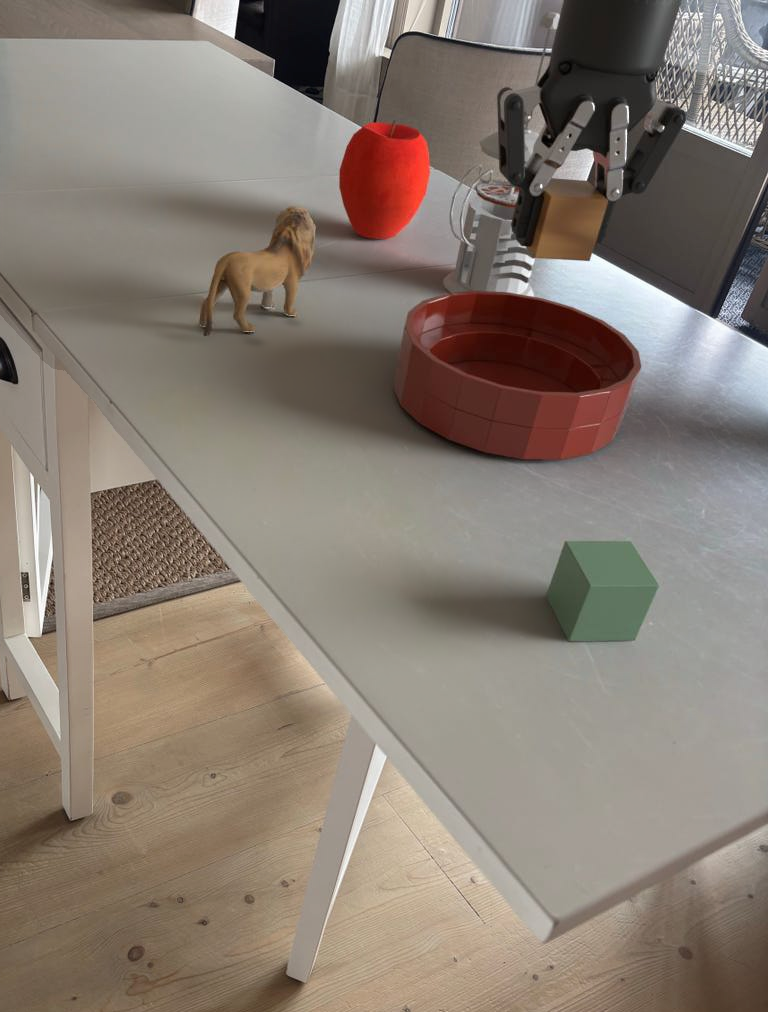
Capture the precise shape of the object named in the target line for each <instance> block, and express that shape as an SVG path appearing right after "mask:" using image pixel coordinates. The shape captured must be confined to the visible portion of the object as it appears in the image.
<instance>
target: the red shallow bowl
mask: <svg viewBox="0 0 768 1012" xmlns="http://www.w3.org/2000/svg"><path fill="white" fill-rule="evenodd" d="M641 371H642V363H641V358H640V351H639V349H637V348H636V346H635V345H634V344H633V343H632V342H631V341H630V340H629V338H628V337H627V336H626V335H625V334H624V333H623V332H621V331H619V329H616V328H615V327H613V326H612V325H611V324H609V323H607V322H606V321H604V320H603V319H601V318H598V317H596V316H594V315H592V314H589V313H587V312H586V311H582V310H580V309H578V308H576V307H574V306H570V305H567V304H563V303H560V302H556V301H553V300H550V299H546V298H543V297H537V296H535V297H533V296H527V295H521V294H515V293H509V292H493V291H464V292H455V293H450V292H445V293H443V294H440V295H436V296H433V297H431V298H430V297H429V298H427V299H425V300H424V299H423V300H421V301H420V302H419V303H418V304H416V305H415V306H414V307H413V308H412V309H410V310H409V311H408V312H407V315H406V319H405V323H404V326H403V333H402V339H401V343H400V349H399V355H398V360H397V365H396V371H395V376H394V377H395V378H394V381H393V382H394V383H393V390H394V392H395V395H396V398H397V400H398V402H399V405H400V406H401V408H403V409H404V410H405V411H406V412H407V413H408V414H409V415H410V416H411V417H412V418H413V419H415V421H417V422H418V424H419V425H422V426H423V427H425V428H427V429H429V430H431V431H432V432H434V433H436V434H438V435H439V436H441V437H443V438H445V439H446V440H449V441H451V442H454V443H457V444H460V445H463V446H465V447H468V448H471V449H474V450H477V451H480V452H483V453H486V454H493V455H498V456H504V457H510V458H514V459H520V460H552V461H553V460H555V461H556V460H557V461H558V460H559V461H560V460H565V459H570V458H576V457H580V456H581V457H582V456H587V455H591V454H593V453H594V452H596V451H598V450H600V449H601V448H603V447H605V446H607V445H609V444H611V443H612V442H613V440H614V438H615V436H617V433H618V432H619V430H620V429H621V426H622V424H623V422H624V421H623V420H624V418H625V415H626V412H627V409H628V406H629V405H630V401H631V398H632V396H633V392H634V390H635V387H636V384H637V382H638V379H639V376H640V373H641Z"/></svg>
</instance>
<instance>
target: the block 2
mask: <svg viewBox="0 0 768 1012" xmlns="http://www.w3.org/2000/svg"><path fill="white" fill-rule="evenodd" d="M659 588H660V584H659V582H658V580H657V579H656V578H655V575H654V574H653V573H652V571H651V570H650V568H649V567H648V565H647V563H646V561H645V560H644V559H643V557H642V556H641V554H640V553H639V551H638V549H637V548H636V546H635V545H634V543H633V542H632V541H630V540H627V541H626V540H623V541H622V540H616V541H615V540H611V541H610V540H565V541H564V543H563V545H562V549H561V552H560V554H559V557H558V560H557V564H556V566H555V569H554V572H553V573H552V577H551V580H550V583H549V586H548V589H547V592H546V594H545V598H546V599H547V602H548V603H549V605H550V607H551V609H552V611H553V613H554V615H555V617H556V619H557V621H558V623H559V625H560V627H561V629H562V631H563V633H564V635H565V637H566V639H567V642H618V641H636V640H637V637H638V636H639V633H640V630H641V628H642V626H643V624H644V622H645V619H646V618H647V614H648V612H649V610H650V608H651V606H652V603H653V601H654V599H655V597H656V594H657V592H658V590H659Z"/></svg>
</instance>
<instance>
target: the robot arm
mask: <svg viewBox="0 0 768 1012" xmlns="http://www.w3.org/2000/svg"><path fill="white" fill-rule="evenodd" d="M562 1H563V2H562V5H561V10H560V13H559V15H560V17H559V21H558V26H557V29H555V34H554V38H553V41H552V47H551V51H550V57H549V62H548V66H547V68H546V70H545V71H544V73H543V74H542V76H541V77H539V80H538V84H537V86H535V85H534V86H530V87H529V86H528V87H526V88H521V89H517V90H513V89H512V88H511V87H509V86H505V87H503V88H501V89H500V90H499V91H498V93H497V97H496V102H497V103H496V104H497V108H496V109H497V132H498V142H499V160H498V169H499V172H500V173H501V175H502V176H503V177H504V178H505V179H506V181H508V182H509V183H511V184H512V185H515V186H518V187H519V194H518V198H517V202H516V206H515V211H514V214H513V218H512V220H511V221H512V222H511V228H512V232H513V233H514V234H515V236H516V240H517V241H518V242H519V244H520V245H521V246H529V247H530V246H531V245H532V243H533V239H534V235H535V232H536V228H537V224H538V220H539V216H540V212H541V209H542V205H543V201H544V197H543V196H542V195H541V194H542V193H543V192H544V191H545V189H546V187H547V185H548V184H549V182H550V180H551V178H553V177H554V175H555V173H556V172H557V170H558V169H560V168H561V167H562V166H563V165H564V163H565V161H566V159H567V158H568V157H569V154H570V152H579V151H582V150H583V151H584V150H589V151H592V156H593V161H594V166H595V167H594V188H595V189H596V190H597V191H599V192H600V193H601V194H602V195H603V196H604V197H605V198H606V199H607V200H608V203H607V206H606V209H605V212H604V216H603V219H602V222H601V226H600V229H599V232H598V235H597V239H596V242H595V245H594V249H593V251H594V250H595V249H596V246H597V244H601V243H602V241H603V240H604V239H605V237H606V234H607V231H608V228H609V224H610V221H611V218H612V215H613V213H614V212H613V211H614V208H615V205H616V203H617V201H619V199H620V198H621V197H623V196H626V195H629V194H632V193H633V194H635V195H641V194H642V193H644V192H645V191H646V189H647V188H648V187H649V184H650V183H651V181H652V180H653V178H654V176H655V174H656V173H657V172H658V169H659V167H660V166H661V164H662V163H663V161H664V159H665V157H666V156H667V154H668V152H669V151H670V149H671V147H672V146H673V144H674V142H675V141H676V139H677V137H678V136H679V134H680V132H681V131H682V128H683V127H684V125H685V124H686V121H687V119H688V113H687V112H686V111H685V110H684V109H682V108H681V107H680V106H679V105H677V104H676V103H673V102H671V101H669V100H662V99H659V98H657V90H656V79H657V75H658V73H659V71H660V70H661V67H662V65H663V62H664V59H665V56H666V52H667V50H668V47H669V43H670V40H671V37H672V33H673V30H674V28H675V25H676V21H677V18H678V14H679V11H680V8H681V5H682V2H683V0H562ZM538 105H539V110H540V112H541V114H542V116H543V120H544V122H545V123H544V125H543V127H542V129H541V131H540V132H539V136H538V138H537V140H536V142H535V144H534V146H533V153H532V155H531V157H530V159H529V161H528V162H527V164H526V165H525V136H524V128H525V126H526V124H527V123H528V122H530V121H531V120H532V118H533V112H534V110H535V108H536V107H537V106H538ZM644 118H645V119H644ZM643 119H644V120H645V121H644V123H643V127H644V131H643V133H642V135H641V136H640V138H639V140H638V142H637V143H636V145H635V147H634V149H633V150H632V152H631V154H630V156H629V157H628V159H627V143H628V142H627V139H628V138H627V137H628V136H627V135H628V134H629V133H630V132H631V131H632V130H633V129H634V128H636V126H637V125H639V123H640V122H641V121H642V120H643ZM528 124H529V123H528Z"/></svg>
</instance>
